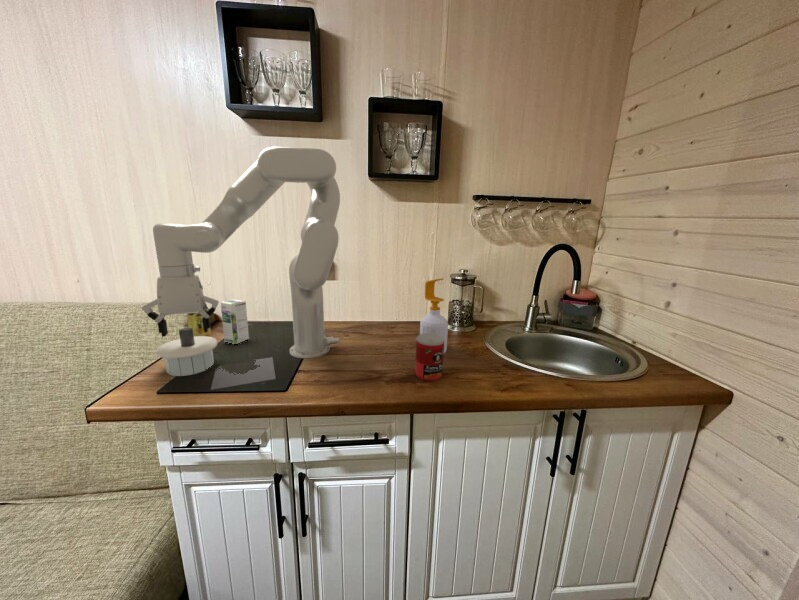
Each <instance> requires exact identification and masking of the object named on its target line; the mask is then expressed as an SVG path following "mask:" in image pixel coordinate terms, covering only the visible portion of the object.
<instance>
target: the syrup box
mask: <svg viewBox="0 0 799 600" xmlns="http://www.w3.org/2000/svg"><path fill="white" fill-rule="evenodd" d="M220 310H221V319H222V320H221V321H222V329H223V330H222V331H223V339H224V343H225V342H228V343H227V344H229V343H232V344H231V345H234V344H238V343H240V342H242V341H245V340H247V339H249V340H250V335H249V324H248V313H247V312H248V311H247V301H246V300H240V299H228V300H223V301H220ZM245 342H246V341H245ZM240 344H241V343H240ZM238 345H239V344H238Z"/></svg>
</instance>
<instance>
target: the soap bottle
mask: <svg viewBox="0 0 799 600" xmlns="http://www.w3.org/2000/svg"><path fill="white" fill-rule="evenodd" d="M443 280H444V278H436V279H431V280H427V281H425V285H424V299H425V300H427V301H430V303H431V304H432V305H431V306H430V307H429V312H428V313H429V314H426V315H424V316H423V317H422V318H421V319H420V323H419V324H420V326H419V335H420V334H425V333H432V334H437V335H440V336H442V337H443V338H444V354H445V353H446V352H447V347H448V333H449V322H448V319H447V318H446V317H444V316H443V315H441V307H439V305H438V304H440V302H443V301H444V300H445V299H444V298H441V297H438V296H437V297H436V295H435V284H436V282H438V281H443Z"/></svg>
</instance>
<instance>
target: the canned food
mask: <svg viewBox="0 0 799 600" xmlns="http://www.w3.org/2000/svg"><path fill="white" fill-rule="evenodd" d="M444 355H445V353H444V338H443V337H442V336H440V335H437V334H432V333H425V334H420V333H419V334H418V335H417V336H416V342H415V369H414V370H415V371H414V372H415V375H416V377H417V378H418V379H419V380H422V381H425V382H434V381H439V380H440V379H441V378H442V377H443V373H444V372H443V371H444Z"/></svg>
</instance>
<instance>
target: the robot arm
mask: <svg viewBox="0 0 799 600" xmlns="http://www.w3.org/2000/svg"><path fill="white" fill-rule="evenodd" d="M336 173H337V163H336V160H335V158H334V156H332V154H331V153H330V152H328V151H326V150H324V149H321V148H306V147H289V146H288V147H284V146H270V147H266V148H264V149H263V150H262V151H261V152H260V153H259V155H258V157H257V160H255V162H254V163H253V164H252V165H251V166H250V167H249V168H248V169H247V170H246V171H245V172H244V173H243V174H242V175H241V176H240V177H239V178H238V179H237V180H235V182H234V183H232V185H231V186H230V187H229V188H228V189H227V191H226V192H225V195H224V197H223V199H222V200H221V201H220V203H219V205H217V207H216V208H215V209H214V210H213V211H212V212H211V213H210V214H209V215H208V216H207V217H206V218H205V219H204V220H203V221H202V222H201V223H196V224H182V223H157V224H155V225H153V227H152V232H153V240H154V246H155V252H156V253H155V254H156V260H157V265H158V271H159V277H157V280H156V299H154V300H152V301H151V302H148V303H147V304H144V305H143V306H142V307H141V309H142V311H143V312H144V313H145V314H146V315H147V317H149V318H150V319H152V320H153V321H154V322H155V323H157V328H158V333H159V334H161V337H162V338H164V337H166V336H167V335H168V334H169V331H168V324H167V320H166V319H165V317H166V316H173V315H174V316H175V315H184V314H185V315H187V314H188V313H197V312H198V313H199V314H201V315H202V316H203V319H202V321H203V328H204V332H207V331H208V328H211V320H210V319H209V318H210V317H211V316H212V315H213V314H214V313H215V311H216V309H217V307H218V305H219V304H220V303H219V300H217V299H214V298H211V297H210V296H205V295H204V292H203V290H204V289H203V290H202V287H203V285H202V283H201V280H200V279H201V278H200V277H199V275H197V274H196V273H198V272H201V267H200V266H197V265H195V264H194V263H193V262H194V261H193V255H192V252H194V253H201V254H202V253H204V254H208V253H213V252H215V251H216V250H218V249H219V248H220V247H222V246H223V244H225V242H226V241H227V240H228V239H229V238H230V237H231V236H232V235H233V234H234V233H235V232H236V230H238V229H239V228H240V227H241V226H242V225H243V223H244V222H246V221H247V220H248V219H250V218H252V217H253V216H254V215H255V214H256V213H257V212H258V211H259V209H260V208H261V207H263V206H264V205H265V204H266V202H268V200H269V199H270V198H271V197H272V196H273V195H274V194H275V193H276V192H277V191H278V190H279V189H280V188H281V187H282V186H283V185H284V184H285V183H299V184H300V183H303V184H304V183H306V184H307V185H308V187H309V189H310V190H309V191H310V195H311V196H310V201H309V205H308V209H307V211H306V212H307V213H306V215H305V219H304V222H303V225H302V228H301V229H300V230H301V231H300V240H301V245H300V248H299V252H298V254H297V255H295V256H294V257H293V258H292V259H291V260H290V263H289V266H288V274H289V276H288V277H289V282H290V283H289V284H290V285H289V286H290V294H291V297H290V298H291V311H292V313H291V314H292V326H293V327H292V329H293V339H294V340H293V343H294V344H293V345H292V346H291V347H290V348H289V354H290V356H292V357H294V358H297V359H313V358H314V359H315V358H319V357H322V356H324V355H327V354H328V353H329V352H330V350H331V348H330V347H331V346H330V345H337V344H340V337H334V336H328V337H327V336H326V334H325V315H324V313H325V312H324V311H325V310H324V309H325V308H324V292H323V291H324V290H323V286H324V285H325V284H326V282H327V280H328V278H329V275H330V273H331V269H332V266H333V262H334V260H335V256H336V253H337V250H338V246H339V232H338V229H337V227H336V226H335V224H336V221H337V217H338V213H339V210H340V209H339V208H340V203H341V193H340V188H339V185H338V183H337V180H336V178H335V175H336ZM201 285H202V286H201ZM205 303H206V304H207V303H208V304H210V305H211V306H210V308H208V309H209V310H208V311H207V310H206V309H205V308H204V307H205ZM156 306H157V309H158V313H159V314H158V313H157V312H156V311H153V309H152V308H154V307H156Z"/></svg>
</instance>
